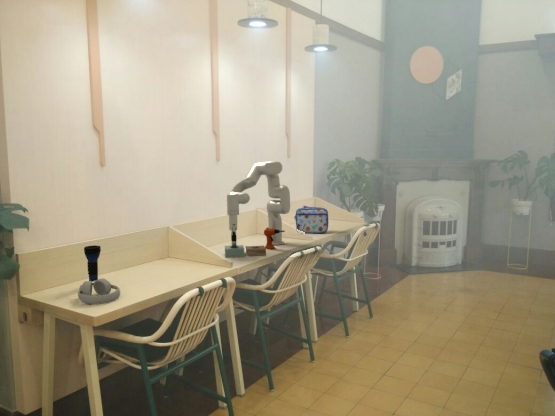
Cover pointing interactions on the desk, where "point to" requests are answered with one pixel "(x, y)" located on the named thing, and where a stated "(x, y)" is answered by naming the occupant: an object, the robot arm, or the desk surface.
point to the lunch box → (312, 219)
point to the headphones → (98, 292)
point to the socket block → (255, 250)
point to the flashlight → (92, 261)
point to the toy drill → (270, 237)
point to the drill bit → (233, 243)
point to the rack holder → (234, 251)
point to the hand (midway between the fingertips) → (233, 240)
